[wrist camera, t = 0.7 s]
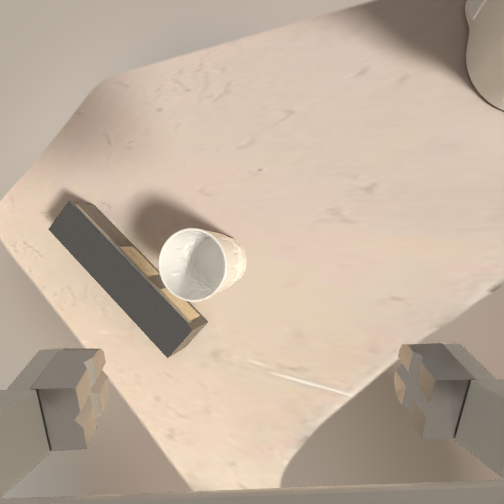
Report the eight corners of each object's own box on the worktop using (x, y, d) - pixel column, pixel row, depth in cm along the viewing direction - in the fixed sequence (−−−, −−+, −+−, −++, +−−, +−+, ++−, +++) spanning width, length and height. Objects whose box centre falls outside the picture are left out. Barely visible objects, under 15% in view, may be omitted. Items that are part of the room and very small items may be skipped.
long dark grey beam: (95, 204, 54) (69, 200, 49) (209, 320, 49) (193, 329, 44) (75, 230, 55) (48, 229, 50) (185, 347, 50) (167, 358, 45)
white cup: (263, 260, 47) (241, 265, 38) (223, 302, 49) (192, 317, 39) (222, 218, 49) (190, 212, 39) (184, 260, 50) (144, 264, 40)
